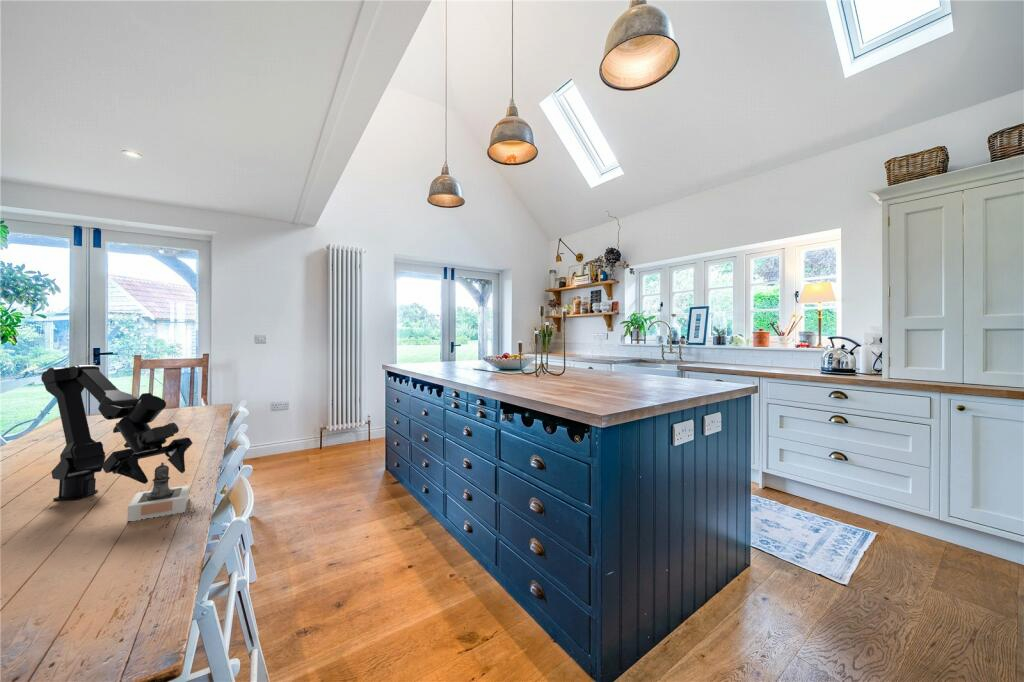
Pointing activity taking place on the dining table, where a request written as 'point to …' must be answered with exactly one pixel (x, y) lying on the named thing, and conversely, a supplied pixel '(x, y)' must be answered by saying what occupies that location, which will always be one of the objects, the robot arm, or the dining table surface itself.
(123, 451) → the robot arm
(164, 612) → the dining table surface
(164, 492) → the dark chess piece
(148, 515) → the tagged holder
